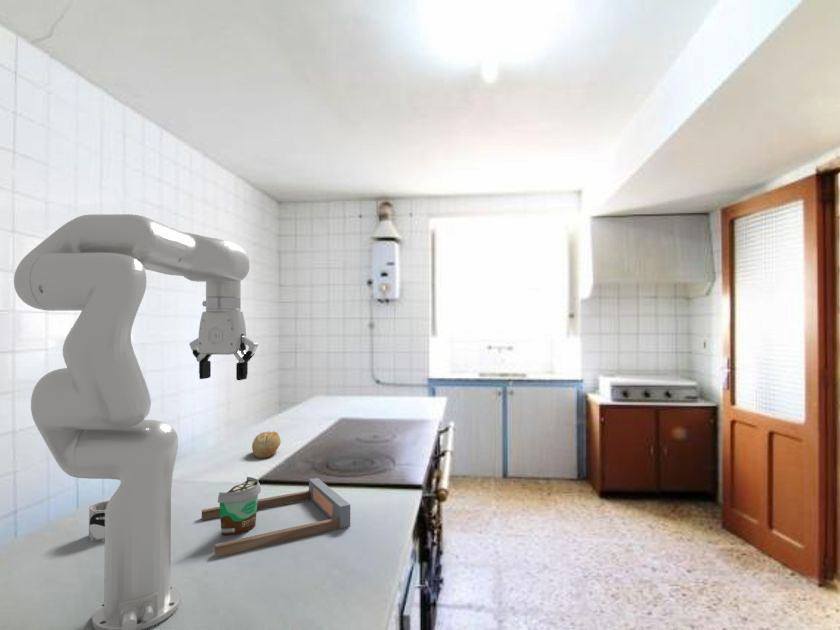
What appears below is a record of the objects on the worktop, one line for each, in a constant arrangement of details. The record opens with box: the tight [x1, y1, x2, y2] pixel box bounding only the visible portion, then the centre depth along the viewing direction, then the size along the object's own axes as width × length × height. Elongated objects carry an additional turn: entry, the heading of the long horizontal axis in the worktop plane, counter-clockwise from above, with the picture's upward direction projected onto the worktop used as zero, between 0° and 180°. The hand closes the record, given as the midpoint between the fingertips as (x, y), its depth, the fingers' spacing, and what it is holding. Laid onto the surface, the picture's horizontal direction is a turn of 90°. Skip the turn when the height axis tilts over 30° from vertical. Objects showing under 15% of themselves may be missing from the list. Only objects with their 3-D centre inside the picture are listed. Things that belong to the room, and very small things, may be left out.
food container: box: [217, 476, 262, 537], centre depth 113 cm, size 12×6×10 cm, turn 168°
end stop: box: [308, 477, 351, 529], centre depth 124 cm, size 23×3×5 cm, turn 31°
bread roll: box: [251, 430, 282, 459], centre depth 178 cm, size 10×15×8 cm, turn 8°
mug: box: [88, 500, 109, 542], centre depth 110 cm, size 10×7×7 cm
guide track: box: [201, 489, 341, 558], centre depth 116 cm, size 23×27×2 cm
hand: (223, 378), depth 113 cm, fingers open, 9 cm apart
